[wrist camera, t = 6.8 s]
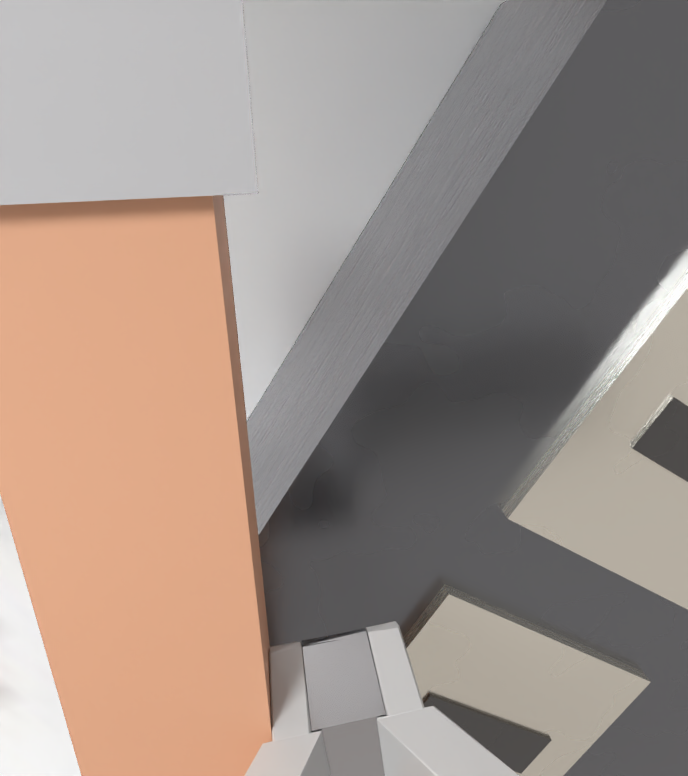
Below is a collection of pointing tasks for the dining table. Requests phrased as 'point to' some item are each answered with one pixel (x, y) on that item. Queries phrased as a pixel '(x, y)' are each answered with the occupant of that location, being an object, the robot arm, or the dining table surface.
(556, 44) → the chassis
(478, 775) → the robot arm
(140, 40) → the swing arm
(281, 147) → the dining table surface
